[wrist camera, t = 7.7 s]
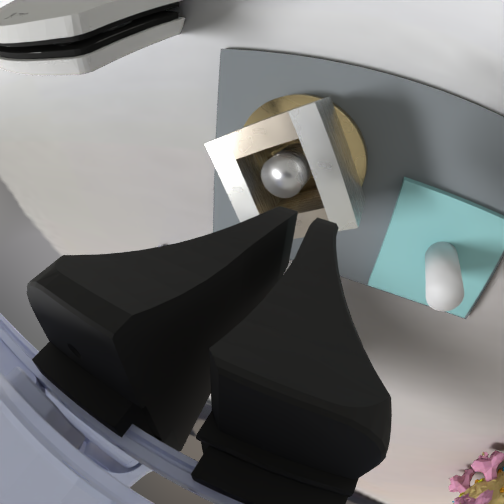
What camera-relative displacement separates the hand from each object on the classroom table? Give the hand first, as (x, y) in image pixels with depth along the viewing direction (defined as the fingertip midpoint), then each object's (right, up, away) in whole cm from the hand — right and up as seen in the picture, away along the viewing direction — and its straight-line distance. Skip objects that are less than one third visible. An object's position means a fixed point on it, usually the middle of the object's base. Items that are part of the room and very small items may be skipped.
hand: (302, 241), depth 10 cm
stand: (+9, 0, +6) cm, 11 cm away
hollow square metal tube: (+1, +4, +6) cm, 7 cm away
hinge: (-13, +18, +6) cm, 23 cm away
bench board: (+5, +3, +6) cm, 9 cm away
